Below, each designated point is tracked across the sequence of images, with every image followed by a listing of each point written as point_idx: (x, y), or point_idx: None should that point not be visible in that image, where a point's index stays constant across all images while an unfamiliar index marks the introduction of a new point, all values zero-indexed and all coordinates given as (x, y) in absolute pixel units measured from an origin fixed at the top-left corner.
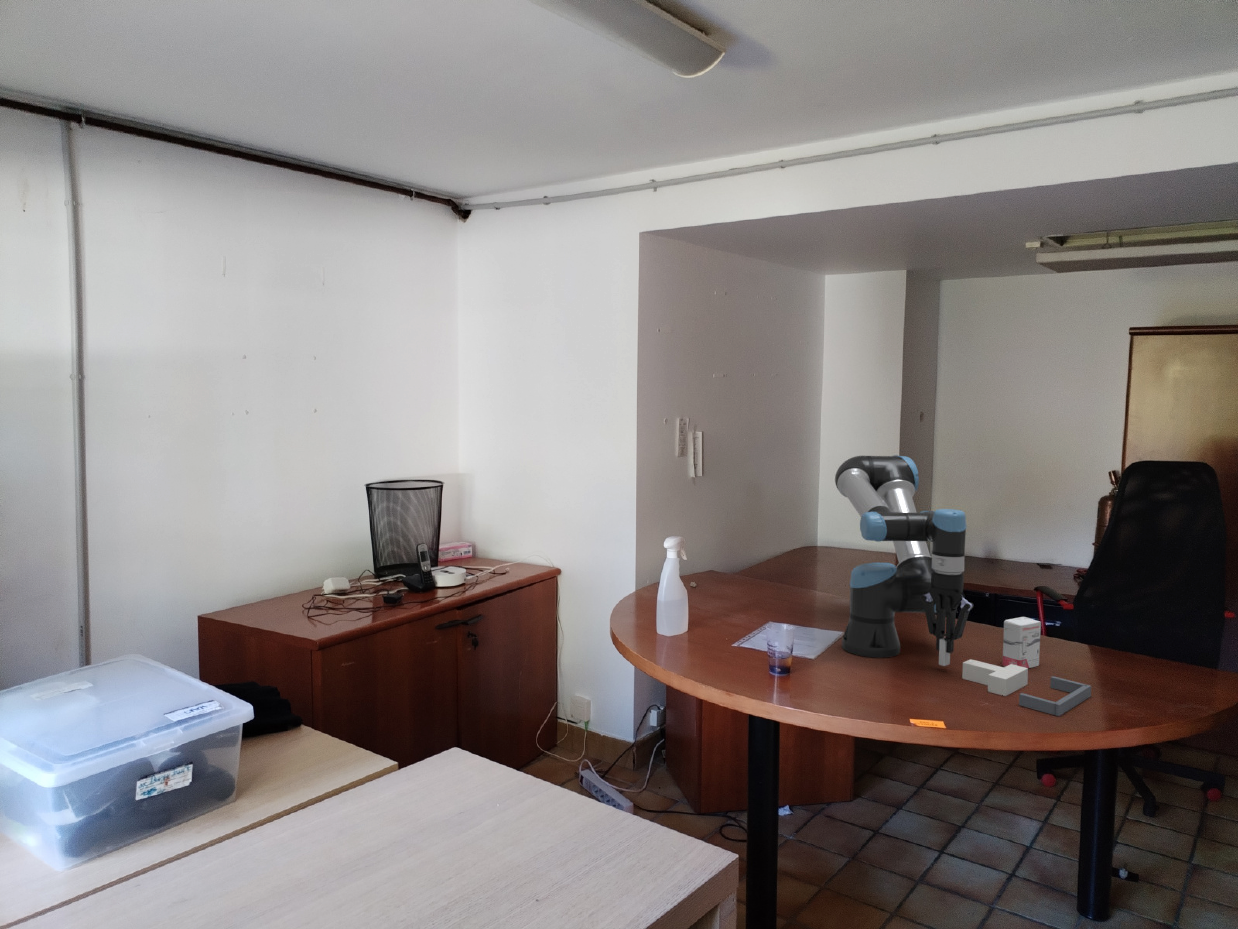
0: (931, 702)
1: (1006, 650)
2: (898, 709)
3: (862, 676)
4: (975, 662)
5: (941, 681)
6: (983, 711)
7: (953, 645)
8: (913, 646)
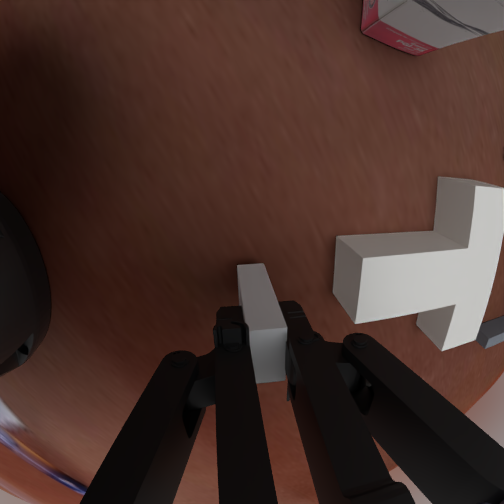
0: None
1: (410, 20)
2: (305, 490)
3: None
4: (390, 281)
5: None
6: None
7: (307, 321)
8: (10, 105)
